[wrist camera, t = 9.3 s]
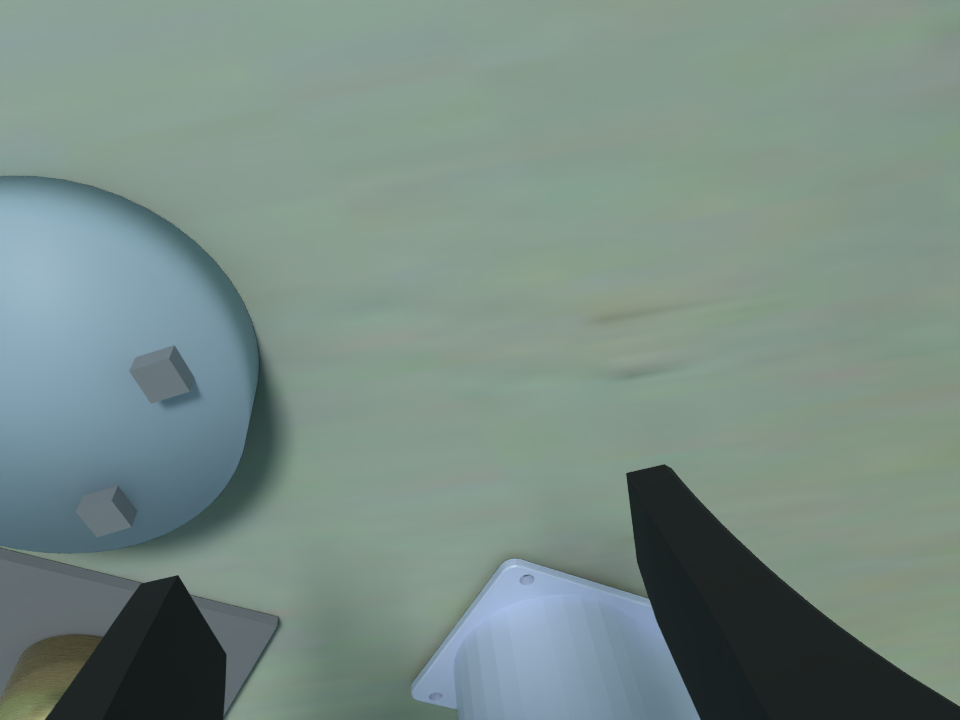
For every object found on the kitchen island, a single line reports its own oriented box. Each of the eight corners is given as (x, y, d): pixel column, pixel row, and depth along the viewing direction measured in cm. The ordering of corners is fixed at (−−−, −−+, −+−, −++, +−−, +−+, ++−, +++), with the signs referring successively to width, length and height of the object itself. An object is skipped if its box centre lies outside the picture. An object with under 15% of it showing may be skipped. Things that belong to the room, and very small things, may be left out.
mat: (278, 617, 28) (277, 626, 28) (188, 769, 32) (185, 779, 32) (-31, 540, 24) (-36, 549, 24) (-86, 723, 29) (-91, 733, 28)
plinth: (314, 275, 21) (306, 335, 18) (193, 528, 25) (173, 605, 23) (-110, 101, 17) (-194, 144, 15) (-168, 429, 22) (-239, 506, 19)
